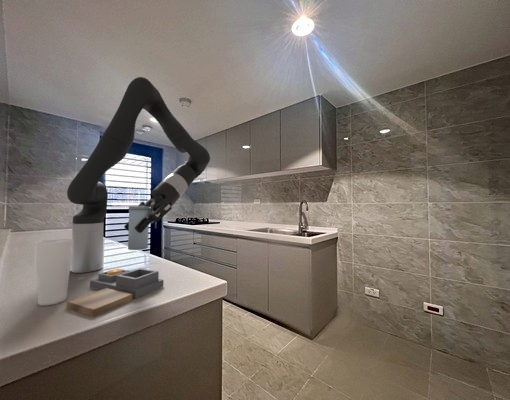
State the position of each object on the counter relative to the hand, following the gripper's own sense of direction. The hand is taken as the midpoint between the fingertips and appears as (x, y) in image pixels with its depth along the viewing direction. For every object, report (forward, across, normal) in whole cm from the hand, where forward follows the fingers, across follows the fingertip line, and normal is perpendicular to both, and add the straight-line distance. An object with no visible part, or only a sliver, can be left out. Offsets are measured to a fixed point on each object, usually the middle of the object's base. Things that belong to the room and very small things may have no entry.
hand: (132, 229), depth 61 cm
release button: (+11, -10, +11) cm, 18 cm away
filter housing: (+11, -4, +13) cm, 18 cm away
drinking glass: (+22, -9, +2) cm, 24 cm away
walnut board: (+18, +2, +6) cm, 19 cm away
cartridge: (+2, 0, +5) cm, 6 cm away
